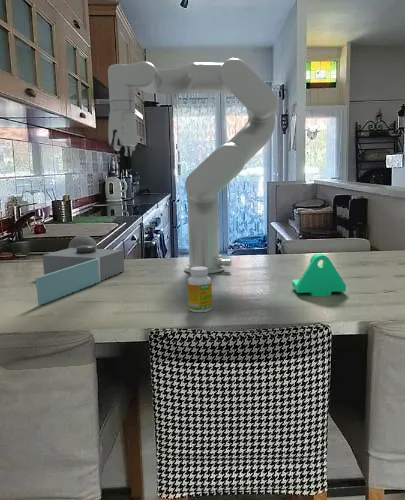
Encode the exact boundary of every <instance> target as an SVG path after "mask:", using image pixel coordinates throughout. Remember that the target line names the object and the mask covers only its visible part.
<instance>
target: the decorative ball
mask: <svg viewBox="0 0 405 500" xmlns="http://www.w3.org/2000/svg"><path fill="white" fill-rule="evenodd" d="M84 245H94V246H96V249H98V245H97V242H96V241H95V239H94V238H92V237H91V236H89V235H86V234H79V235H76V236H74V237H73V238H72V239H71V240H70V241H69V243H68V248H76V247H78V246H84ZM68 248H67V249H68Z"/></svg>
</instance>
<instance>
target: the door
mask: <svg viewBox="0 0 405 500" xmlns="http://www.w3.org/2000/svg"><path fill="white" fill-rule="evenodd" d="M101 282H102V281H101V276H100V261H99V258H96V259H94V260H90V261H87V262H84V263H81V264H78V265H75V266H71V267H68V268H65V269H62V270H59V271H55V272H52V273H49V274H46V275H44V274H43V275H40V276H37V277H35V283H36V295H37V305H38V306H42V304H43V305H45V304H47V303H48V304H49V303H50V302H52V301H56V300H58V299H61V298H62V296H63V297H65V296H67V294H68V295H70V294H73V293H75V292H77V291H78V292H79V291H81V290H82V289H86V288H88V287H90V286H93V285H96V284H99V283H101ZM95 283H96V284H95ZM80 289H81V290H80ZM72 292H73V293H72Z"/></svg>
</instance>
